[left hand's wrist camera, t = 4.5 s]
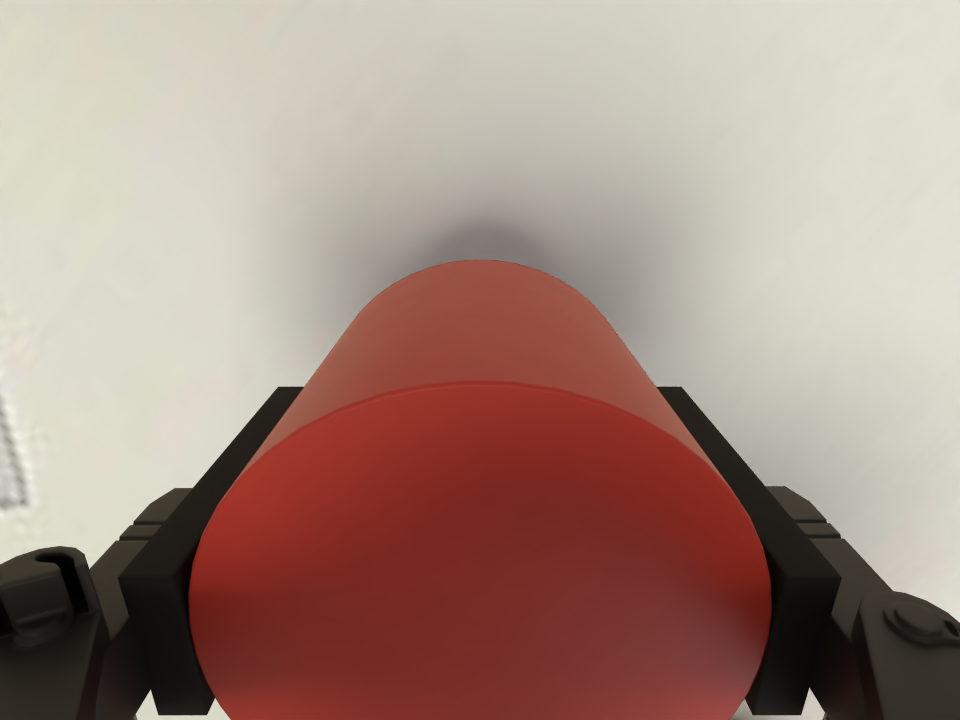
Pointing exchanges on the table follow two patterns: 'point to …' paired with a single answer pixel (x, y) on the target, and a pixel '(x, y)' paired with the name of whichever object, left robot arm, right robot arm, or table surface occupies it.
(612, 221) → the table surface
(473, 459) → the canister
